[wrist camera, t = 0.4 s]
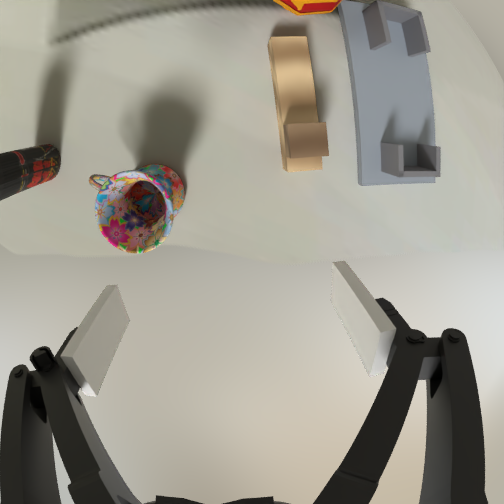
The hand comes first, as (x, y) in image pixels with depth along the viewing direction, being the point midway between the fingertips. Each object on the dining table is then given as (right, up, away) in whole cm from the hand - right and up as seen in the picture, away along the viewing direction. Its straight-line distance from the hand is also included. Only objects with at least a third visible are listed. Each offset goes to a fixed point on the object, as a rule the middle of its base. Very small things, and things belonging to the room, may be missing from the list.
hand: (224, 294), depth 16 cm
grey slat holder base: (+23, +27, +17) cm, 39 cm away
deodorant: (-31, +17, +18) cm, 39 cm away
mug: (-13, +12, +21) cm, 27 cm away
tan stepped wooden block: (+7, +22, +18) cm, 29 cm away
